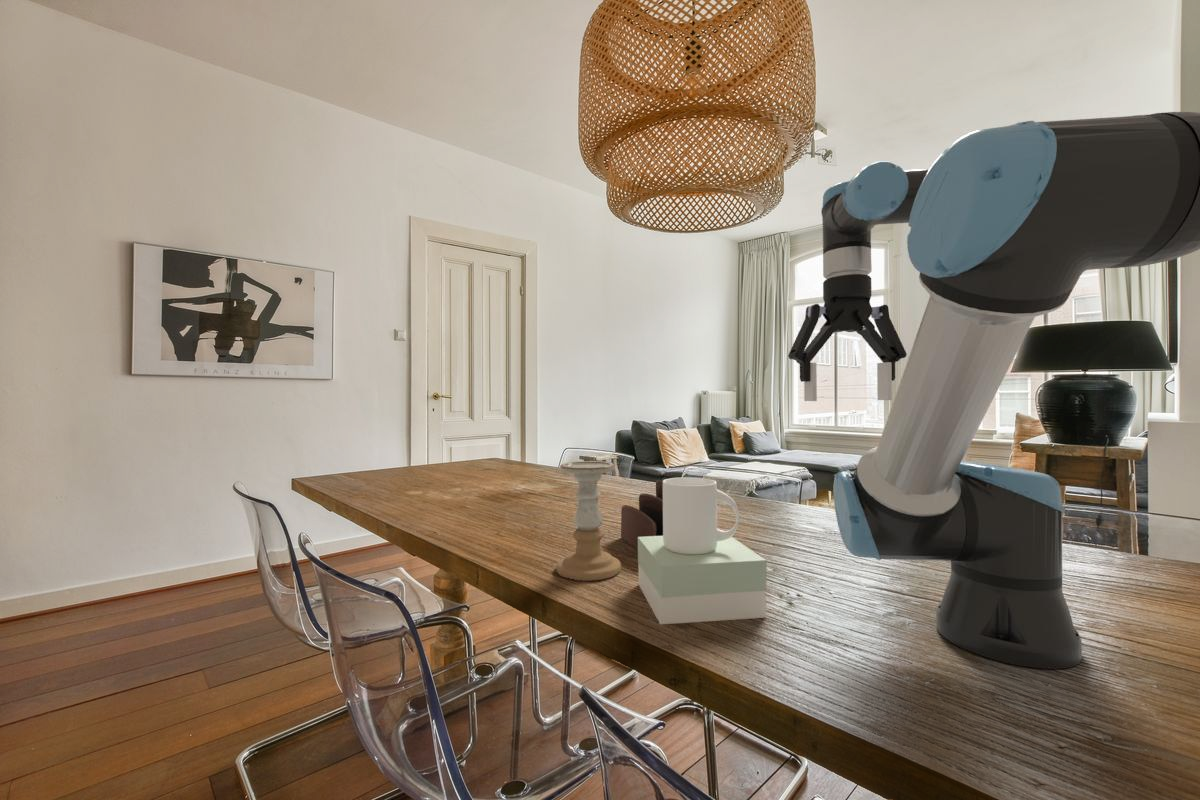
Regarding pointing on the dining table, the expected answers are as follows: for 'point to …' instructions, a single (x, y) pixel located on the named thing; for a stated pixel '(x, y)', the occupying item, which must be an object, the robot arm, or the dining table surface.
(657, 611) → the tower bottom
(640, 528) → the letter holder
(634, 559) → the dining table surface
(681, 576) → the tower top
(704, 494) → the mug
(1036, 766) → the dining table surface
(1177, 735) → the dining table surface
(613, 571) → the candle holder
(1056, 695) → the dining table surface
